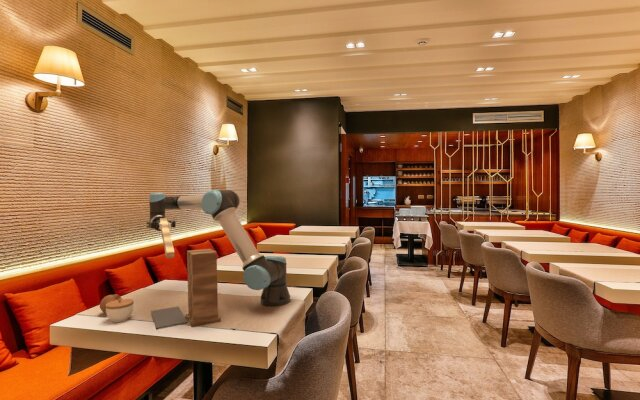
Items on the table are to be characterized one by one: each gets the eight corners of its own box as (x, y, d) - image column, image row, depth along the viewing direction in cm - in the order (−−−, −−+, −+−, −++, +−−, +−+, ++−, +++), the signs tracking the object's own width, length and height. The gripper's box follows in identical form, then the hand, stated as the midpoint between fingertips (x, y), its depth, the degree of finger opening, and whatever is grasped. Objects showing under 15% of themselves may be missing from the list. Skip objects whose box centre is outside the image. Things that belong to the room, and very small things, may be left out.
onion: (121, 318, 158) (131, 299, 158) (102, 319, 150) (112, 299, 150) (111, 308, 162) (120, 289, 163) (91, 309, 154) (102, 289, 155)
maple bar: (159, 223, 158) (159, 218, 157) (166, 223, 160) (166, 218, 159) (166, 258, 139) (166, 252, 138) (174, 257, 141) (174, 251, 140)
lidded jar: (121, 325, 142) (120, 303, 142) (99, 323, 144) (99, 302, 144) (139, 316, 152) (139, 295, 152) (119, 314, 154) (118, 294, 154)
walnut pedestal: (185, 316, 150) (184, 250, 150) (212, 311, 157) (211, 248, 156) (191, 327, 138) (190, 255, 138) (220, 321, 145) (219, 252, 144)
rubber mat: (151, 312, 157) (151, 311, 157) (178, 307, 163) (178, 306, 163) (156, 329, 137) (156, 327, 137) (187, 323, 143) (187, 321, 143)
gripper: (176, 229, 175) (184, 233, 155) (142, 231, 167) (145, 236, 147) (176, 215, 175) (184, 217, 155) (141, 216, 167) (145, 219, 147)
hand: (165, 226), depth 151 cm, fingers closed on maple bar, 3 cm apart
